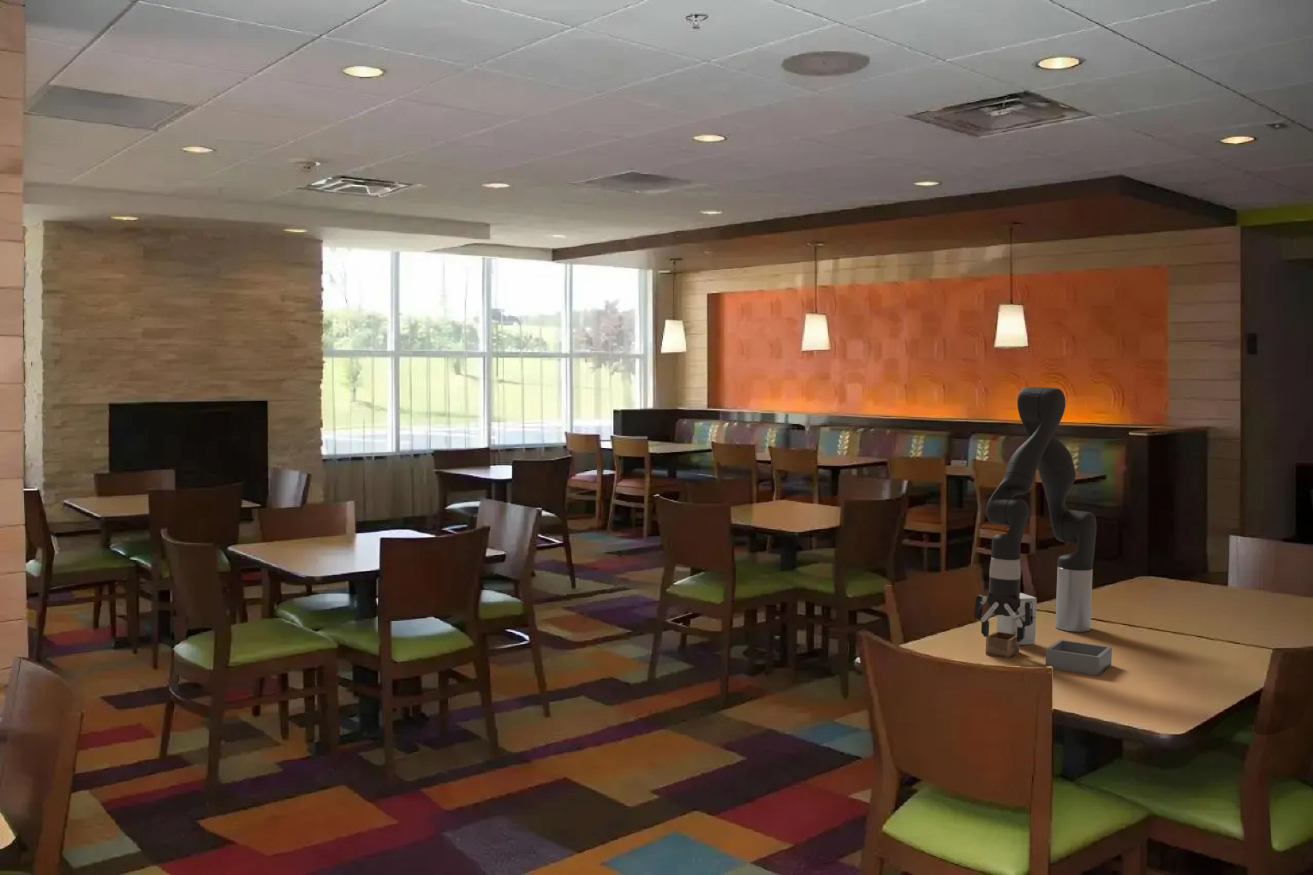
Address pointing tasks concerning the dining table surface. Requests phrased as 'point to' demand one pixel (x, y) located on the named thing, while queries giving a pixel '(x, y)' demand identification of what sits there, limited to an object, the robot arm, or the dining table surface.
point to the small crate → (1002, 644)
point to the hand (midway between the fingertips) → (1002, 638)
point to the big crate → (1079, 657)
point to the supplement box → (1010, 625)
